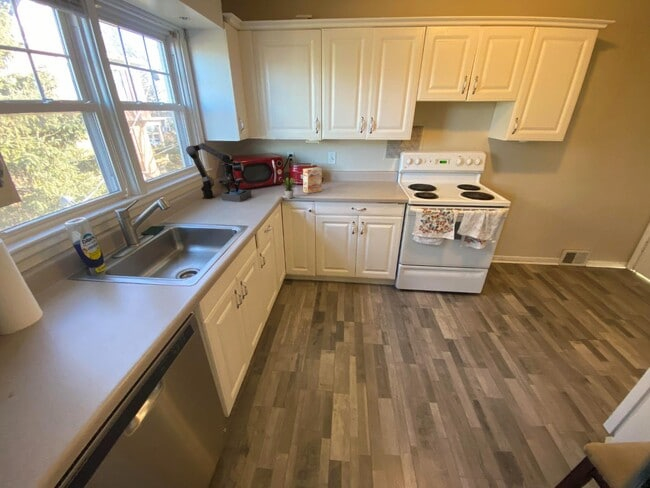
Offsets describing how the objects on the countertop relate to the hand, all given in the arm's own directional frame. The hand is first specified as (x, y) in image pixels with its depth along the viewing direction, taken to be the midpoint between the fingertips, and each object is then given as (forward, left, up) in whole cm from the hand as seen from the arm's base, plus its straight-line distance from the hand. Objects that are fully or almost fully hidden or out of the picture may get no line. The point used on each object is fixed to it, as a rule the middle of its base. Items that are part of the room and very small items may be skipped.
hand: (233, 192), depth 217 cm
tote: (+3, 0, -5) cm, 6 cm away
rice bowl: (+3, 0, -4) cm, 5 cm away
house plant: (+41, +14, -5) cm, 44 cm away
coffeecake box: (+51, +40, -5) cm, 65 cm away
